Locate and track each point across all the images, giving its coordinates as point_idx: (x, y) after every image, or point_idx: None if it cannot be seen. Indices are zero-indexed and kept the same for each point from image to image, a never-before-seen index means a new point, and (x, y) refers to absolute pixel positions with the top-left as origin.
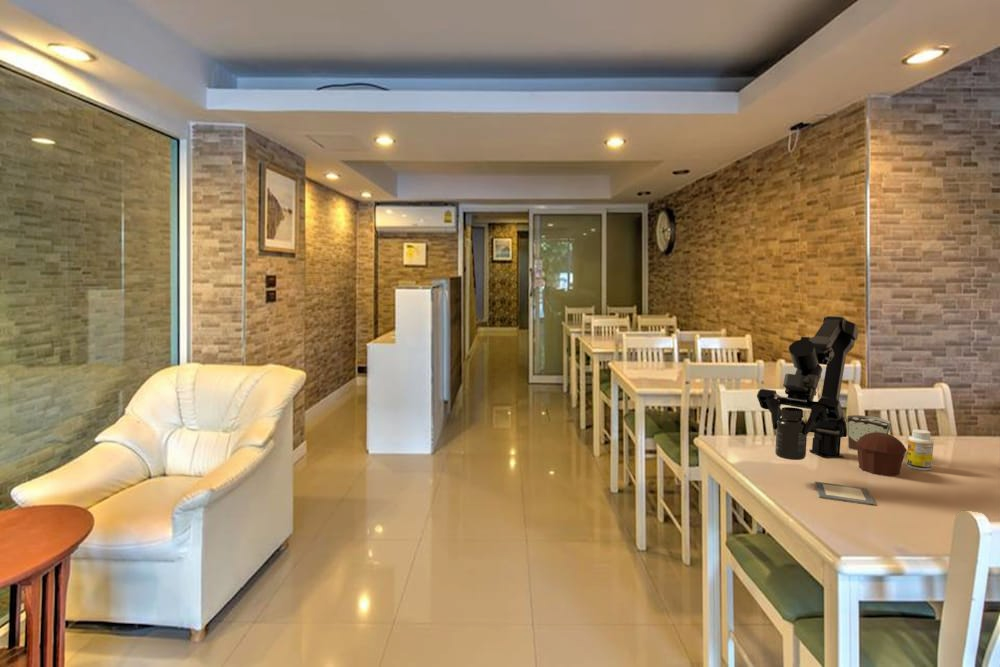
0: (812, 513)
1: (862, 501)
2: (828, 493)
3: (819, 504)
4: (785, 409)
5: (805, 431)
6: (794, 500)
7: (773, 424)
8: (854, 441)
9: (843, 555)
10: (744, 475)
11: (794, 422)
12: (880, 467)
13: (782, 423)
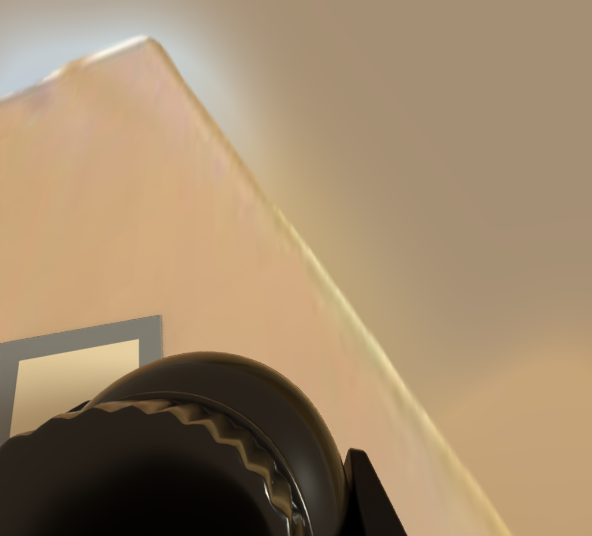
0: (185, 186)
1: (35, 342)
2: (130, 355)
3: (165, 257)
4: (223, 498)
5: (80, 404)
6: (228, 250)
7: (372, 474)
8: None
9: (143, 41)
10: (409, 409)
11: (144, 390)
12: None
13: (273, 378)
